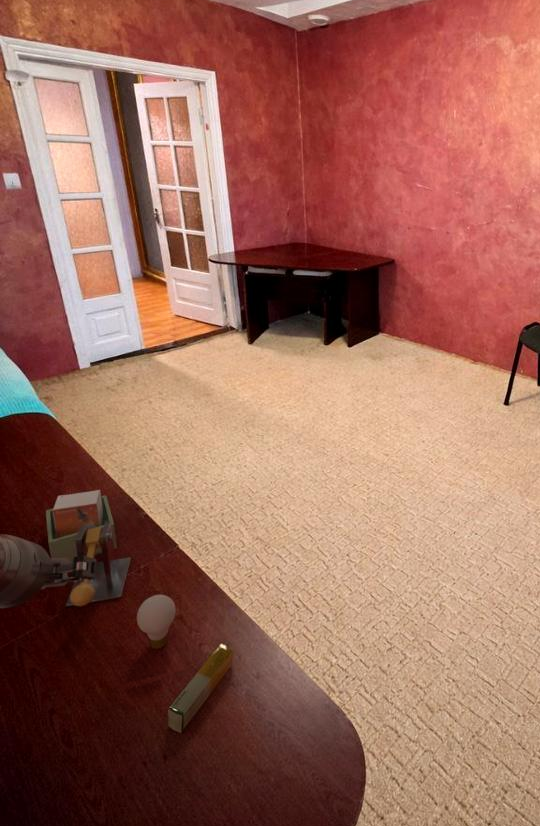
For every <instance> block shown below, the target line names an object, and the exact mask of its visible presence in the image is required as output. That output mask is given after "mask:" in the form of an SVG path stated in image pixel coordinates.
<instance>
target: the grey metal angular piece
mask: <svg viewBox="0 0 540 826" xmlns="http://www.w3.org/2000/svg"><path fill="white" fill-rule="evenodd" d="M87 532H88V527H87V525H81V527H80V530H79V532H78V534H77V537H76V539H75V544H76V550H77V556H78V555H82V556H86V557H87V552H88V549H87V546H86V543H85V541H86V537H87ZM100 542H101V549H102V553H101V556H102V561H96V567H95V578H92V579H91V580H90V581H89V584H90V585H92V586H93V588H94V591H95V594H94V597H93V599H92V600H91V601H90V602H89V603H88V604H86V605H85V606H87V605H94V604H100V603H106V602H110V601H111V602H112V601H117V600H122V597H123V594H124V589H125V585H126V581H127V577H128V575H129V570H130V567H131V563H132V557H124V558H116V551H115V549H114V543H113V532H112V527H111V522H105V524H104V527H103V530H102V532H101V535H100ZM80 584H81V582H80V583H74V582H73V586H72V589H71V591H70V593H69V596H68V598H67V601H66V604H65V609H70V608H76V607H78V606H75V605H73V604H72V603H71V601H70V594H71V592H72V590H73V589H74V588H75V587H76V586H78V585H80Z"/></svg>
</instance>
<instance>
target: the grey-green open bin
mask: <svg viewBox="0 0 540 826" xmlns="http://www.w3.org/2000/svg"><path fill="white" fill-rule="evenodd" d="M101 501H102V509H103V517H104V524H105V522H111V527H112V532H113V543H114V550H115V549H118V545H117V537H116V528H115V523H114V522H115V521H114V519H113V515H112V511H111V507H110V504H109V500H108V497H107V495H101ZM45 518H46V528H47V529H46V530H47V531H46V532H47V541H48V542H47V543H48V546H49V547H48V548H49V553H50V559H55V558H68V559H69V561H70V562H73V559H74V557H77V550H76V544H75V539H76V537H77V534H78V533H74V534H71V535H67V536H64V537H60V538H57V536H56V529H55V522H54V516H53V508H50V509H49V508H48V509H46V510H45ZM103 527H104V525H103V526H99V527H95V528H92V529H96V528H101V529H102V530H103ZM99 554H100V555H101V554H102V549H101V548H96V553H95V556H96V555H99Z"/></svg>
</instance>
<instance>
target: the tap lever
mask: <svg viewBox="0 0 540 826" xmlns="http://www.w3.org/2000/svg"><path fill="white" fill-rule="evenodd" d="M101 532H102V529H101V528H96V529H88V532H87V537H86V541H85V543H86V546H87V549H88V552H87V557H90V558H94V559H95V558H96V555H95V553H96V548H101V542H100V535H101ZM89 581H90V580H88V579H84V582H81V584H80V585H78V586H76V587H75V588H74V589H73V590H72V589H71V591H72V592H71V591H70V593H71V594H70V593H69V596H70V601H71V603H72V604H73V605H75V606H77V607H83V606H87V605H86V604H88V603H89V602H90V601H91V600H92V599H93V597H94V594H95V591H94V588H93V586H92V585H90V584H89ZM88 605H89V604H88Z"/></svg>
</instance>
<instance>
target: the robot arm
mask: <svg viewBox="0 0 540 826" xmlns="http://www.w3.org/2000/svg"><path fill="white" fill-rule="evenodd" d="M96 562H97V559H96V558H95V557H94V558H90V557H86V556H82V555H78V556H77V557H74V559H73V562H70V561H69V559H68V558H55V559H51V556H50V555H49V553H48V551H46V549H45V548H43V546H41V545H40V544H38V543H35V542H34V541H29V540H27V539H24V538H21V537H18V536H15V535H11V534H5V533H0V609H9V608H13V607H16V606H19V605H22V604H24V603H26V602H27V601H29V600H31V599H32V598H33V597H35V595H37V594H38V593H39V592H40V591H41V590H44V589H50V588H58V587H62V586H65V585H67V584H68V583H73V584H74V583H80V582H84V579H88V580H91V579H92V578H95V567H96ZM69 573H70V574H71V575H70V576H68V574H69Z"/></svg>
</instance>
